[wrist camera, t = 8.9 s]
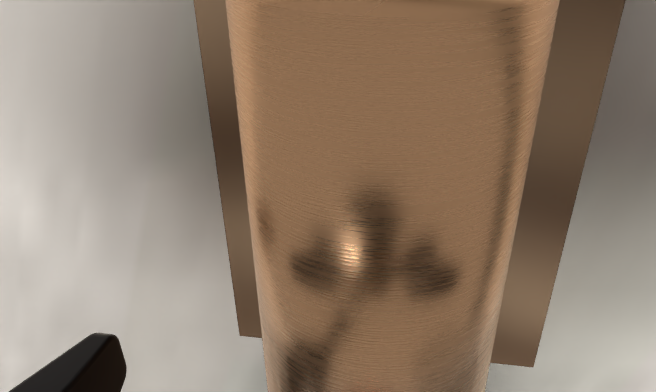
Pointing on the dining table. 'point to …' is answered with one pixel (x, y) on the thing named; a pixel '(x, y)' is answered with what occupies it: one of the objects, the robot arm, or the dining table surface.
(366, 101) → the tan rounded oblong piece
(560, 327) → the dining table surface
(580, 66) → the pipe cradle
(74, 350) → the robot arm
